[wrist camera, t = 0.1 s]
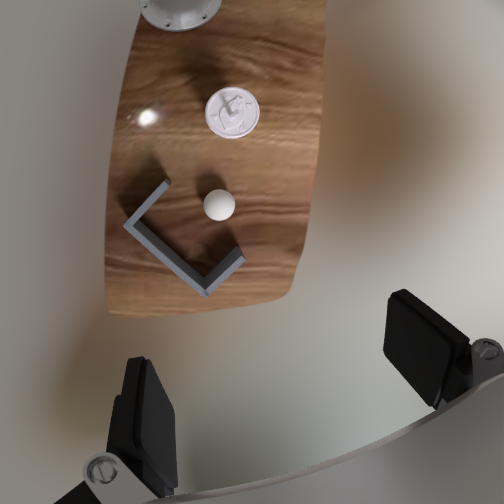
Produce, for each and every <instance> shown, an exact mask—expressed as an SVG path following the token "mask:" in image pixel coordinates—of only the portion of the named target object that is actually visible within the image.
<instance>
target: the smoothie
mask: <svg viewBox="0 0 504 504" xmlns="http://www.w3.org/2000/svg"><path fill="white" fill-rule="evenodd" d="M205 118H206V122H207V124H208V126H209V127H210V129H211V130H212V131H213V132H214V133H216V134H218V135H219V136H221V137H225V138H238V137H242V136H244V135H246V134H248V133H249V132H250V131H251V130H252V129H253V128H254V127H255V125H256V124H257V122H258V119H259V106H258V103H257V101H256V99H255V98H254V96H253V95H252V94H251V93H249V92H248V91H246V90H244V89H242V88H239V87H226V88H223V89H221V90H219V91H217V92H216V93H214V94H213V95H212V96H211V97H210V99H209V100H208V102H207V104H206V108H205Z"/></svg>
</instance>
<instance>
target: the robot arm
mask: <svg viewBox="0 0 504 504" xmlns="http://www.w3.org/2000/svg"><path fill="white" fill-rule="evenodd" d="M221 2H222V0H140V9H141V12H142V15H143V17H144V18H145V19H146V21H147V22H149V23H150V24H151V25H152V26H154V27H156V28H159V29H162V30H165V31H187V30H191V29H194V28H197V27H199V26H201V25H203V24H205V23H206V22H208V21H209V20H210V19H212V18H213V17H214V16H215V14H216V13H217V12H218V10H219V8H220V6H221ZM144 7H146V8H144ZM203 18H206V19H203ZM167 25H169V27H166V26H167ZM469 341H470V339H469V338H468V337H467V336H466V335H464V334H463V333H462V332H461V331H459V330H458V329H457V328H455V327H454V326H453V325H452V324H451V323H449V322H448V321H447V320H446V319H444V318H443V317H442V316H440V315H439V314H438V313H437V312H435V311H434V310H433V309H431V308H430V307H429V306H427V305H426V304H425V303H424V302H422V301H421V300H420V299H418V298H417V297H415V296H414V295H413V294H412V293H410V292H409V291H408V290H406V289H402V290H399V291H396V292H393V293H392V294H391V297H390V298H389V299H388V305H387V318H386V328H385V338H384V346H383V351H384V354H385V356H386V357H387V359H388V360H389V361H390V362H391V363H392V364H393V365H394V367H395V368H396V369H397V370H398V371H399V372H400V373H401V375H402V376H403V377H404V378H405V379H406V380H407V382H408V383H409V384H410V385H411V386H412V387H413V388H414V390H415V391H416V392H417V393H418V394H419V395H420V397H421V398H422V399H423V400H424V401H425V403H426V404H427V405H428V406H430V407H431V406H432V407H433V408H434V409H435V410H436V411H434V412H432V413H430V414H429V415H427V416H425V417H423V418H422V419H420V420H418V421H416V422H414V423H412V424H410V425H408V426H406V427H405V428H403V429H401V430H399V431H396V432H394V433H392V434H390V435H388V436H386V437H384V438H382V439H380V440H377V441H375V442H373V443H371V444H369V445H366V446H364V447H362V448H359V449H357V450H354V451H352V452H349V453H347V454H344V455H341V456H339V457H336V458H333V459H331V460H328V461H325V462H322V463H319V464H316V465H313V466H310V467H307V468H304V469H301V470H297V471H294V472H290V473H287V474H283V475H280V476H276V477H272V478H268V479H264V480H260V481H255V482H251V483H247V484H241V485H237V486H232V487H227V488H221V489H216V490H209V491H203V492H196V493H189V494H183V495H176V496H171V495H174V488H176V487H178V479H177V462H176V441H175V414H174V409H173V406H172V404H171V402H170V401H169V398H168V396H167V394H166V393H165V390H164V388H163V386H162V384H161V382H160V380H159V378H158V376H157V374H156V372H155V369H154V367H153V365H152V363H151V361H150V360H149V359H147V360H146V359H145V358H144V357H143V356H141V357H136V358H129V359H128V361H127V366H126V372H125V377H124V382H123V387H122V392H121V395H117V396H116V397H115V400H114V406H113V411H112V417H111V422H110V429H109V435H108V441H107V449H106V453H105V452H102V453H98V454H95V455H93V456H91V457H90V458H89V459H88V460H87V461H86V463H85V465H84V467H83V477H84V481H83V482H81V483H80V484H79V485H78V486H76V487H75V488H74V489H72V490H71V491H70V492H68V493H67V494H66V495H65V496H63V497H62V498H61V499H59V500H58V501H57V502H55V503H54V504H504V351H503V348H502V346H501V345H500V344H499V343H498V342H496V341H495V340H492V339H488V338H483V339H479V340H476V341H475V342H474V343H473V344H472V345H470V344H469ZM165 496H169V497H165Z"/></svg>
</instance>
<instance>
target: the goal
mask: <svg viewBox="0 0 504 504" xmlns="http://www.w3.org/2000/svg"><path fill="white" fill-rule="evenodd" d="M170 184H171V182H170V181H169V180H168V179H167V178H166V179H165V180H164V181H163V182H162V183H161V184H160V185H159V186H158V187H157V188H156V189H155V191H154V192H153V193H152V194H151V195H150V196H149V197H148V198H147V199H146V200H145V201H144V202H143V204H142V205H141V206H140V207H139V208H138V209H137V210H136V211H135V212H134V214H133V215H132V216H131V217H130V218H129V219H128V220H127V222H126V223H125V224H124V226H123V227H124V228H125V229H126V230H127V231H128V232H130V233H131V234H132V235H133V236H134V237H135V238H136V239H137V240H138V241H139V242H140V243H142V244H143V245H144V246H145V247H146V248H147V249H148V250H149V251H151V252H152V253H153V254H154V255H155V256H156V257H157V258H158V259H160V260H161V261H162V262H163V263H164V264H165V265H166V266H168V267H169V268H170V269H171V270H172V271H173V272H174V273H176V274H177V275H178V276H179V277H180V278H181V279H183V280H184V281H185V282H186V283H187V284H189V285H190V286H191V287H192V288H193V289H194V290H196V291H197V292H198V293H199V294H200V295H202V296H203V297H204V298H206V297H208V296H209V295H210V294H211V293H212V292H213V291H214V290H215V289H216V288H217V287H218V286H219V285H220V284H221V283H222V282H223V281H224V280H225V279H227V278H228V277H229V276H230V275H231V274H232V273H233V272H234V271H235V270H236V269H237V268H238V267H239V266H240V265H241V264H242V263H243V262H244V261H246V259H245V257H244V255H243V253H242V251H241V249H240V248H239V247H237V246H236V247H235V248H234V249H233V250H232V251H231V252H230V253H229V254H228V255H227V256H226V257H225V258H223V259H222V260H221V261H220V262H219V263H218V264H217V265H216V266H215V267H214V268H213V269H212V270H211V271H210V272H209V273H208V274H207V275H206V276H205V277H204V278H203V277H202V276H201V275H200V274H199V273H197V272H196V271H195V270H194V269H193V268H192V267H191V266H189V265H188V264H187V263H186V262H185V261H184V260H183V259H182V258H180V257H179V256H178V255H177V254H176V253H175V252H174V251H173V250H171V249H170V248H169V247H168V246H167V245H166V244H165V243H164V242H163V241H162V240H160V239H159V238H158V237H157V236H156V235H155V234H154V233H153V232H152V231H151V230H150V229H148V228H147V227H146V226H145V225H144V224H143V223H142V222H141V221H140V220H139V218H140V217H141V216H142V215H143V214H144V213H145V212H146V210H147V209H148V208H149V207H150V206H151V205H152V204H153V203H154V202H155V201H156V200H157V199H158V198H159V197H160V195H161V194H162V193H163V192H164V191H165V190H166V189H167V188H168V187H169V186H170Z"/></svg>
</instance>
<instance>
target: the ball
mask: <svg viewBox="0 0 504 504" xmlns="http://www.w3.org/2000/svg"><path fill="white" fill-rule="evenodd" d="M234 208H235V201H234V198H233V197H232V195H231V194H230V193H229V192H227V191H225V190H222V189H217V190H213V191H211V192H210V193H209V194H208V195H207V196H206V197H205V200H204V210H205V213H206V214H207V215H208V216H209V217H210V218H211V219H213V220H218V221H220V220H225V219H227V218H228V217H230V216H231V215H232V213H233V211H234Z"/></svg>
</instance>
